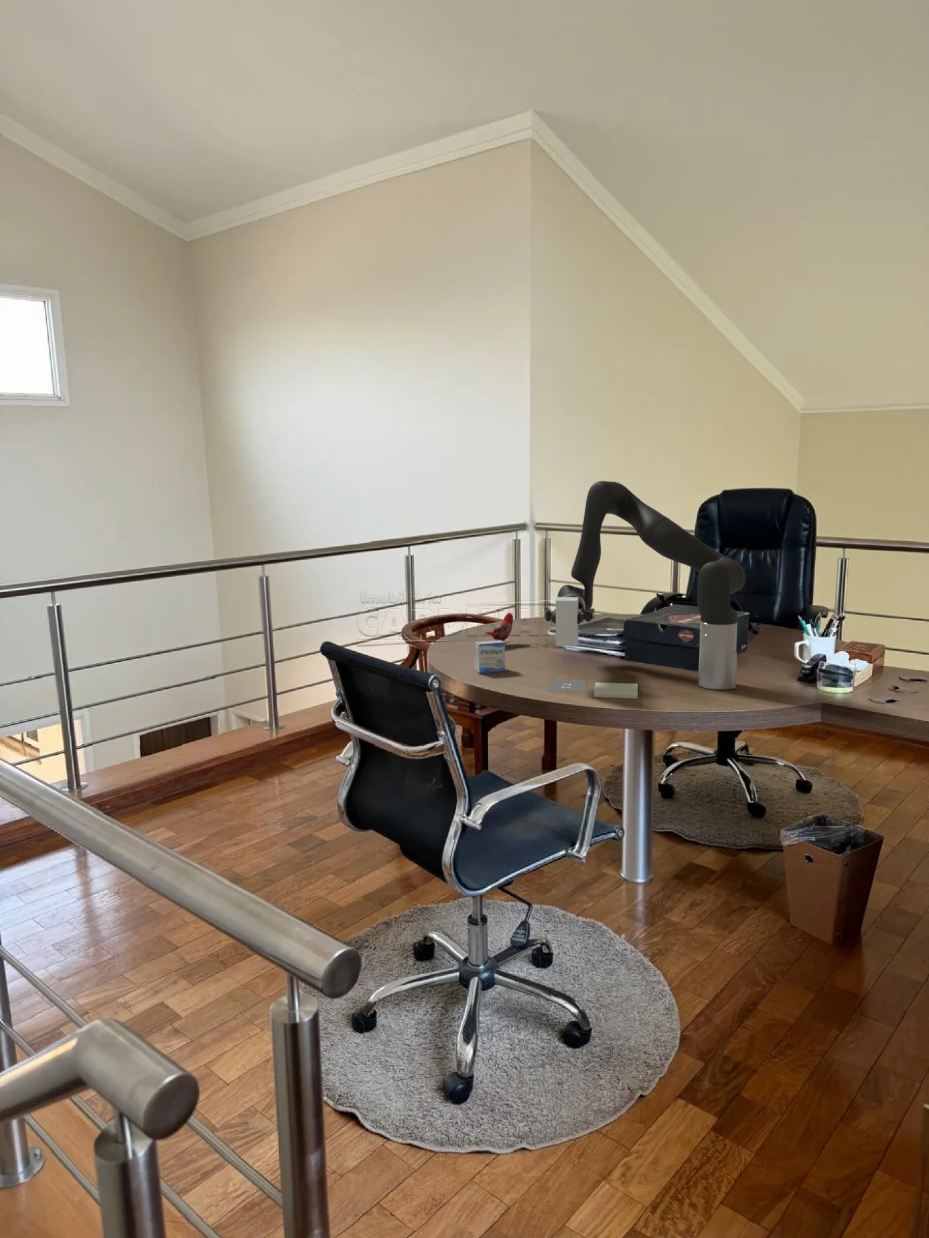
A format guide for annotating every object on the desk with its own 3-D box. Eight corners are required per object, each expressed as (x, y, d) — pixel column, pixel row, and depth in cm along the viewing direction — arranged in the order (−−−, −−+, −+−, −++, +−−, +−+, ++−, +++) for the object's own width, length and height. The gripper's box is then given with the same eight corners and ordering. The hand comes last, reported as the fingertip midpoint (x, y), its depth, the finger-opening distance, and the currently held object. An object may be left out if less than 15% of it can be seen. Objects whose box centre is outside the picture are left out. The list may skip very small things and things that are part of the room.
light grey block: (578, 641, 231) (578, 597, 229) (577, 646, 226) (577, 600, 223) (557, 641, 232) (557, 597, 230) (555, 645, 227) (555, 600, 224)
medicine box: (478, 674, 246) (478, 644, 244) (474, 670, 250) (474, 641, 248) (505, 671, 248) (505, 642, 246) (500, 668, 252) (500, 639, 250)
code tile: (586, 681, 236) (586, 680, 236) (584, 693, 224) (584, 692, 224) (550, 680, 238) (550, 679, 238) (545, 692, 226) (545, 691, 226)
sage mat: (637, 687, 229) (637, 683, 229) (637, 699, 218) (637, 695, 218) (595, 686, 231) (595, 682, 231) (593, 697, 221) (593, 693, 220)
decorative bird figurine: (517, 641, 287) (517, 612, 285) (489, 652, 272) (488, 621, 270) (509, 640, 288) (509, 611, 286) (481, 651, 274) (480, 620, 272)
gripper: (545, 595, 242) (538, 605, 226) (597, 595, 240) (594, 606, 223) (545, 621, 244) (539, 633, 228) (597, 622, 241) (594, 634, 225)
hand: (566, 619), depth 226 cm, fingers closed on light grey block, 5 cm apart
